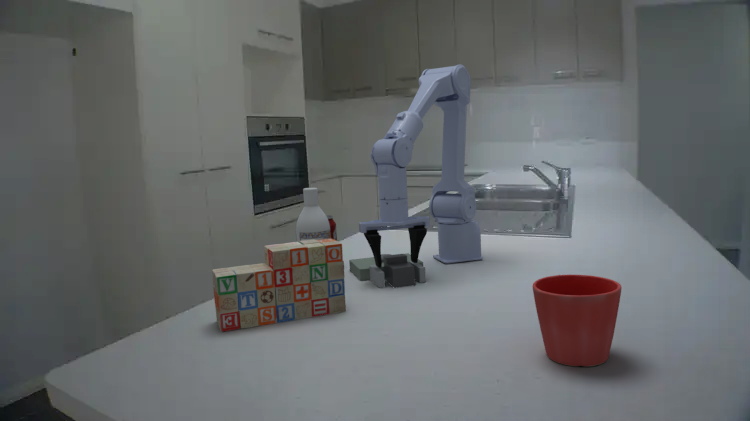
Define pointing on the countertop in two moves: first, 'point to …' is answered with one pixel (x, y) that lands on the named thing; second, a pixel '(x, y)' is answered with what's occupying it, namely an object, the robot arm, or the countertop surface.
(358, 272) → the forked grey-green block
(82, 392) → the countertop surface
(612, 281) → the flower pot
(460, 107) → the robot arm
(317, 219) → the bath foam
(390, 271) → the grey block with ledge
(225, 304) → the stack of blocks
